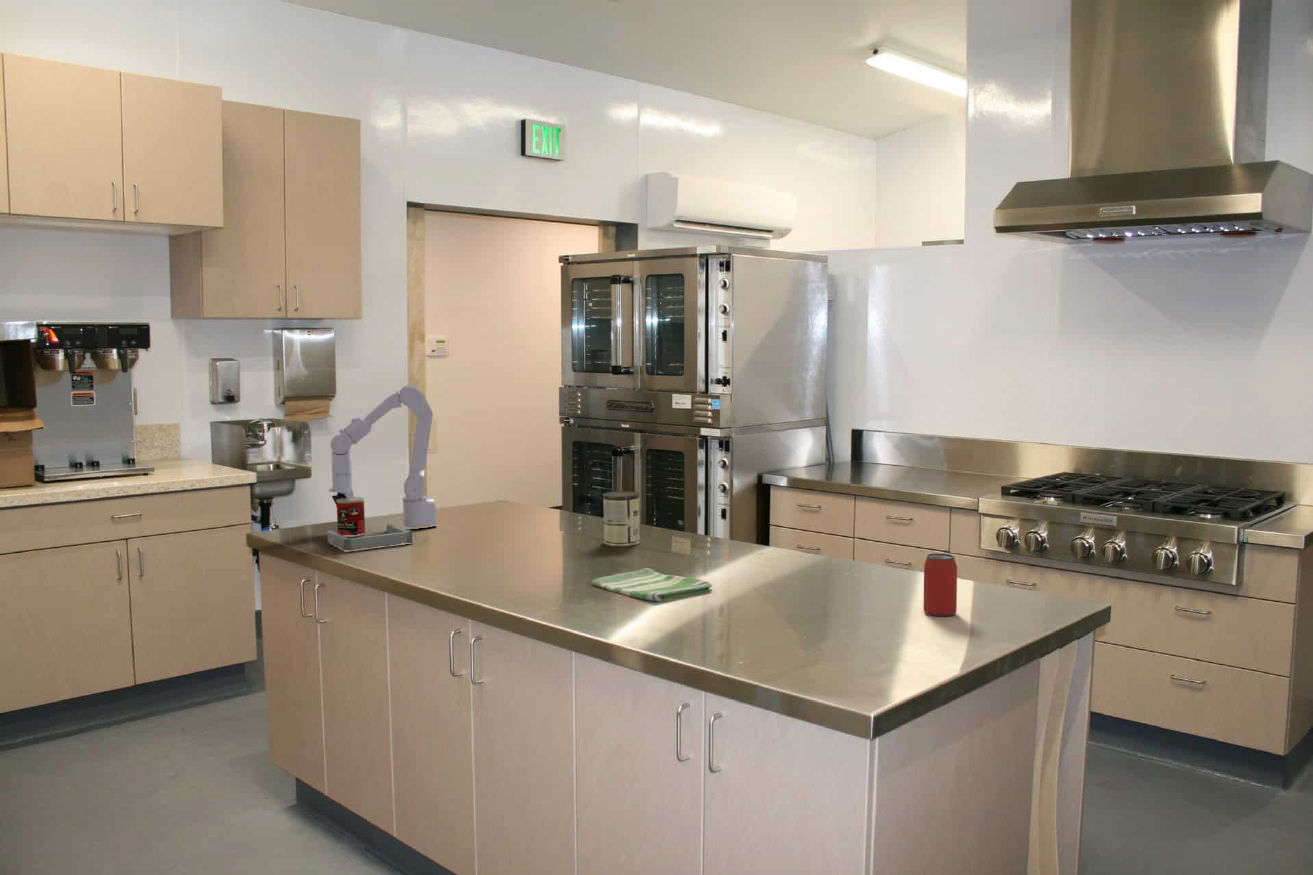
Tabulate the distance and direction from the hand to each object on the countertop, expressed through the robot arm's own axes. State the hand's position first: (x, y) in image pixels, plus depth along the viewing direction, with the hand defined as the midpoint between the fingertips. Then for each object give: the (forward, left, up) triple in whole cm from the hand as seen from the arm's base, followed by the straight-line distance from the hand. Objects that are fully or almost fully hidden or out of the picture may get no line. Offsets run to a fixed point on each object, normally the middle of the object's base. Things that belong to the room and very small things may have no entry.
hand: (343, 518), depth 307 cm
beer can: (-70, +169, -4) cm, 183 cm away
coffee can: (-58, +66, -4) cm, 88 cm away
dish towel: (-35, +115, -5) cm, 120 cm away
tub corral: (0, +23, -4) cm, 23 cm away
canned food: (0, +7, -4) cm, 8 cm away
